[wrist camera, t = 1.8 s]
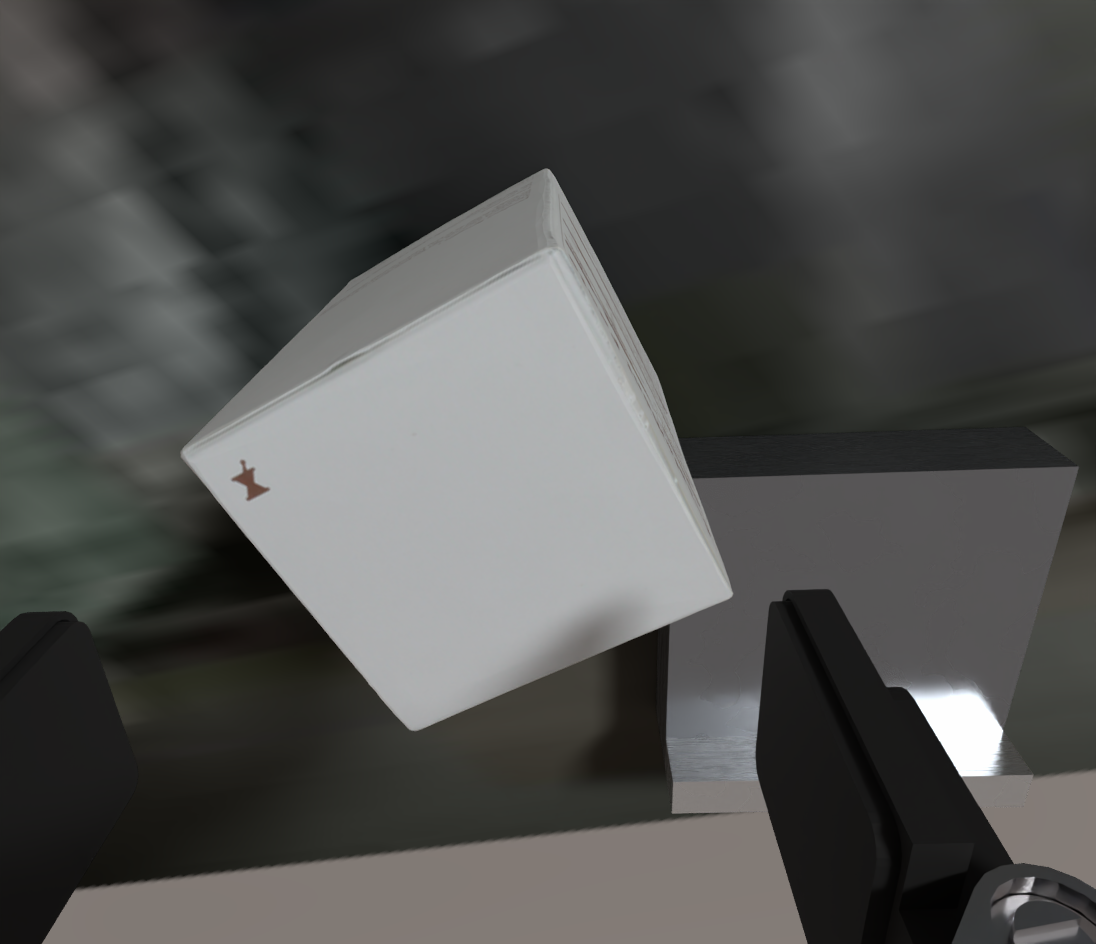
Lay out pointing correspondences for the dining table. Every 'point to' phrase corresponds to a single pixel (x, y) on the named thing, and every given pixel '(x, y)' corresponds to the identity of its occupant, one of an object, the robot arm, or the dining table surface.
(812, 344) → the dining table surface
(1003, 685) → the stand plate
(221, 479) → the supplement box
